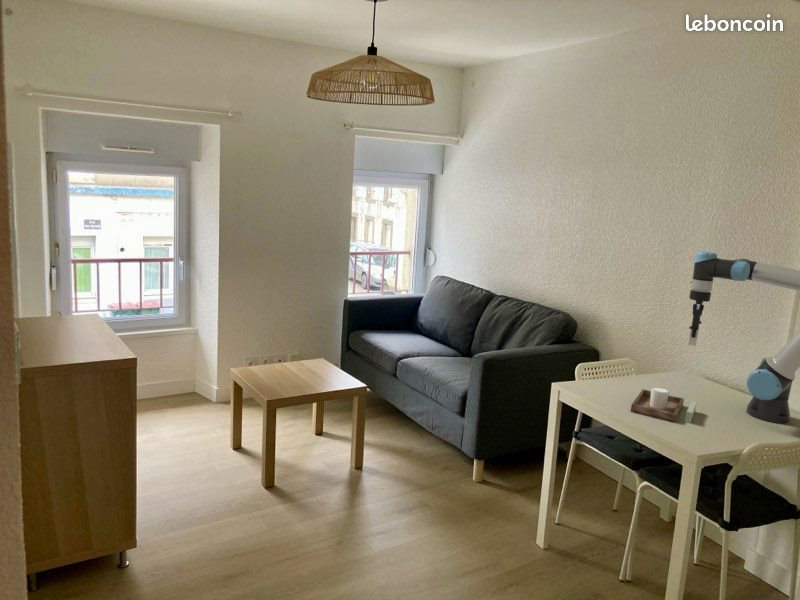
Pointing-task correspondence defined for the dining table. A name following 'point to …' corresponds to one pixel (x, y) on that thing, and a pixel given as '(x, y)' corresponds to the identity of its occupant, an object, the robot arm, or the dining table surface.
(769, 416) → the robot arm
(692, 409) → the rail
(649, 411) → the tray
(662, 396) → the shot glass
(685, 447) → the dining table surface
